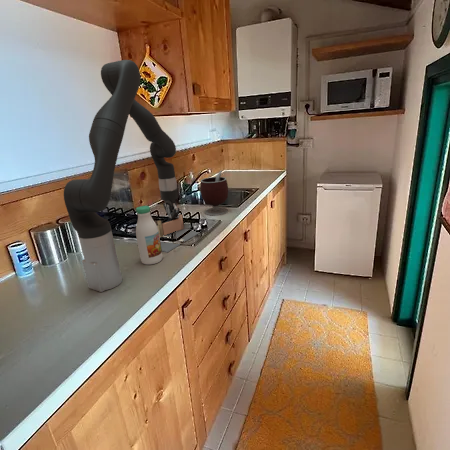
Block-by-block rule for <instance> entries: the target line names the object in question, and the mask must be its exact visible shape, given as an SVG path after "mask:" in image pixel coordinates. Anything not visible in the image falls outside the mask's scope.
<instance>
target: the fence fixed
mask: <svg viewBox="0 0 450 450" xmlns="http://www.w3.org/2000/svg"><path fill="white" fill-rule="evenodd" d="M156 222H157V223H156V224H157V228H158V232H159V237H163V230H162V224H163V222H162V220H157V221H156Z"/></svg>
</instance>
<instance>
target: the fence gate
mask: <svg viewBox="0 0 450 450" xmlns="http://www.w3.org/2000/svg"><path fill="white" fill-rule="evenodd" d="M183 220H184V219H183V214H178V217H177V218H176V219H175V220H172V221H170V220H169V221H167V222H162V230H163V235H167V234H170V233H173V232H175V231H178V230H181V229H185V226H184V221H183Z"/></svg>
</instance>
